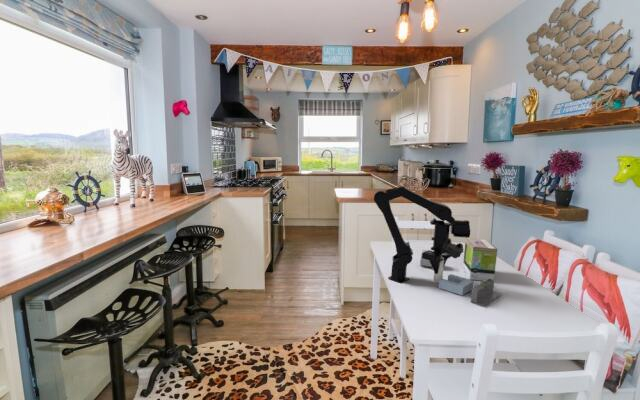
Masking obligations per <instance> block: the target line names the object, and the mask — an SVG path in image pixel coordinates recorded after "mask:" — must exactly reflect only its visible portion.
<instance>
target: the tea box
mask: <svg viewBox="0 0 640 400" xmlns="http://www.w3.org/2000/svg"><path fill="white" fill-rule="evenodd" d="M463 253H464V254H463V264H462V269H463V270H464V273H466V275H467V277H468V279H469V280H473V281H480V282H481V281H482V282H485V281H486V280H488V279H492V280H494V281H495V274H496V266H497V265H496V264H497V256H498V248H497V246H496V245H494V244H493V243H492V242H491V241H489V239H479V238H478V239H477V238H465V244H464V251H463Z"/></svg>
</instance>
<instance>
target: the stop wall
mask: <svg viewBox="0 0 640 400" xmlns="http://www.w3.org/2000/svg"><path fill="white" fill-rule="evenodd" d="M494 287H495V279H494V280H492V279H488V280H486V281H482V282H481V283H480V284H478V285H477V286H475V287H473V289H472V290H471V297H470V303H471V304H474V305H477V306H480V307H483V308H486V307H487V306H489V305H490V304H491V303H493V302H494V301H496V300H497V299H498V298H500V296H502V295H503V294H502V292H499V291H495V290H494Z"/></svg>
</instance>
